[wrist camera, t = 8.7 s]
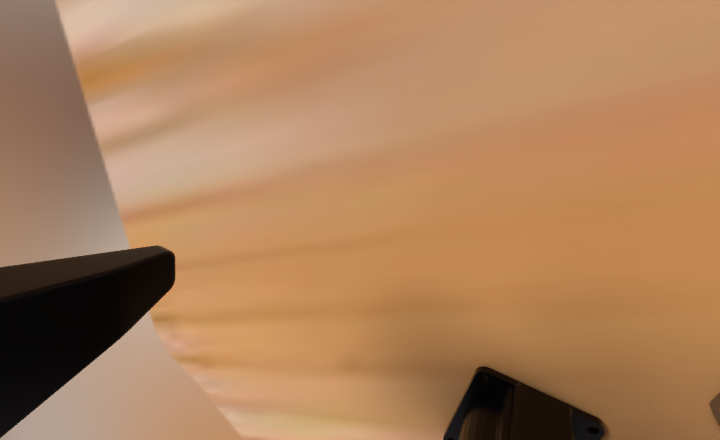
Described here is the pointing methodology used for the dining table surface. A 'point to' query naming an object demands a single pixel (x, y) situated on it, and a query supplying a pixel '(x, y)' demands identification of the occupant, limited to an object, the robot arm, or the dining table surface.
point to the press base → (716, 407)
